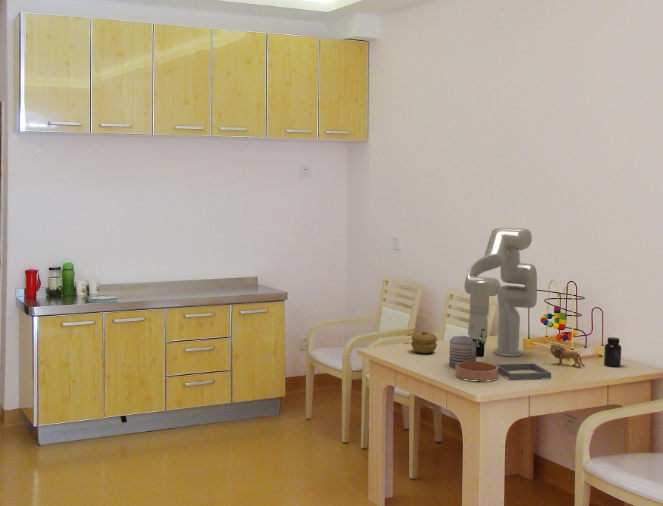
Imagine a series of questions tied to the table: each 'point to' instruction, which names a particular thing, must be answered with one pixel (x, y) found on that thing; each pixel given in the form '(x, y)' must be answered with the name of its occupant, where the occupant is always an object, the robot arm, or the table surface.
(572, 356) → the lion figurine
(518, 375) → the tray
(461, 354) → the can
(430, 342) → the pot
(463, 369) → the bowl
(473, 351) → the grey cylinder
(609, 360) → the supplement bottle
